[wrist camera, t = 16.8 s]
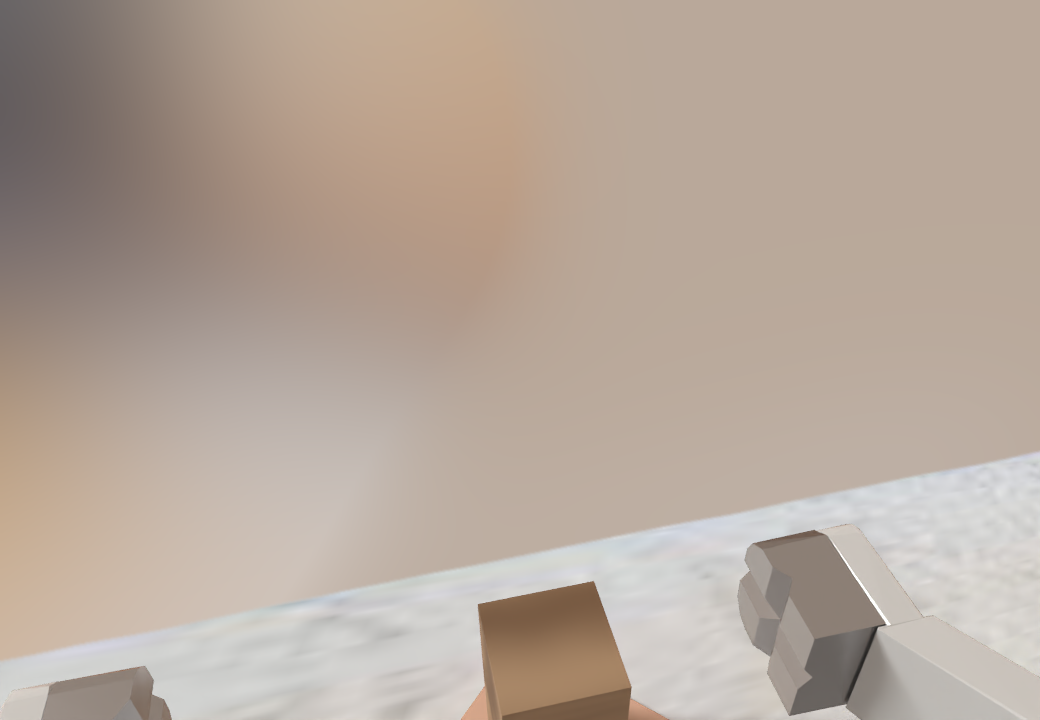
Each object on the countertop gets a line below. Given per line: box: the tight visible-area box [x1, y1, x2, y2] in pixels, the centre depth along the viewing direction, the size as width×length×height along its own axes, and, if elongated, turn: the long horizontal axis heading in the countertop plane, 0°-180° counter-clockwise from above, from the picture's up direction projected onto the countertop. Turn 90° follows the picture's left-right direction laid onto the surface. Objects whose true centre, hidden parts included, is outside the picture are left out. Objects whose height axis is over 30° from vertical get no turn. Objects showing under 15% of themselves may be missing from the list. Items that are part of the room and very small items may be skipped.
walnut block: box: [478, 581, 631, 720], centre depth 36 cm, size 5×5×10 cm
